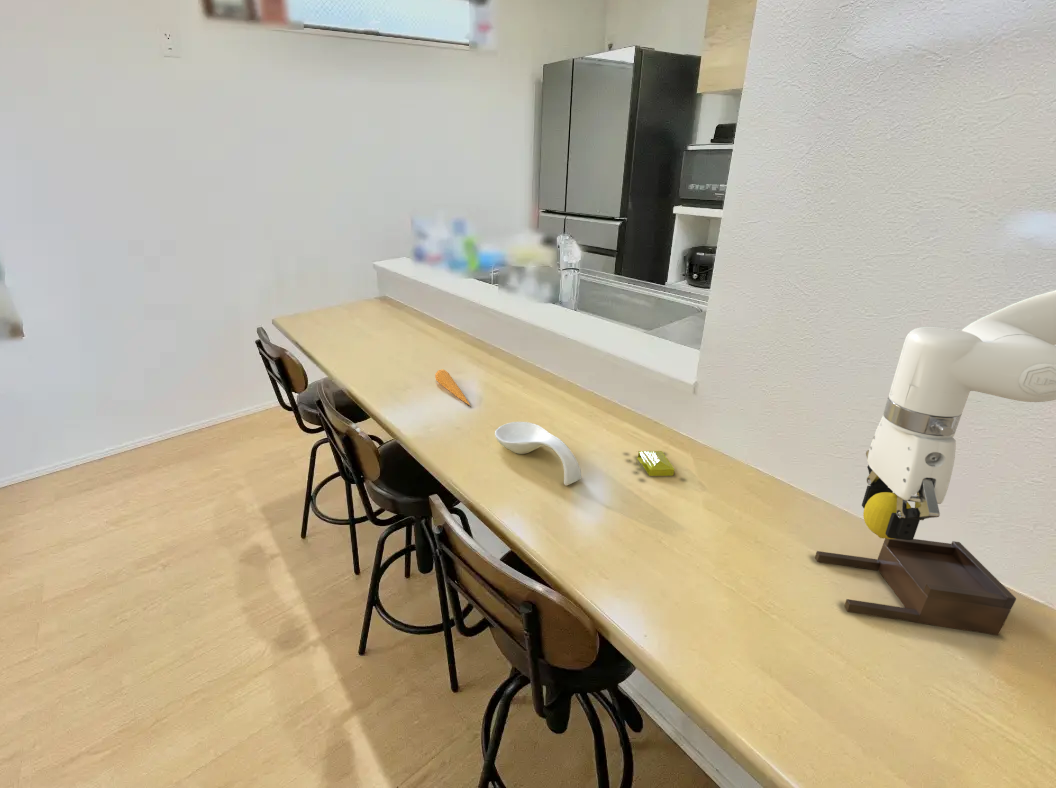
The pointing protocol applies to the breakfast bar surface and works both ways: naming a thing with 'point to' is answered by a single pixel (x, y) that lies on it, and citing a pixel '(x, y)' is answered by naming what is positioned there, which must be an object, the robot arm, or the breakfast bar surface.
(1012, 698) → the breakfast bar surface
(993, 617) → the brown wooden wheelbarrow
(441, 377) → the carrot
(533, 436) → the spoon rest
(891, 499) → the lemon
